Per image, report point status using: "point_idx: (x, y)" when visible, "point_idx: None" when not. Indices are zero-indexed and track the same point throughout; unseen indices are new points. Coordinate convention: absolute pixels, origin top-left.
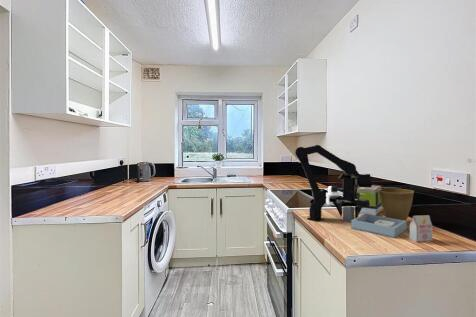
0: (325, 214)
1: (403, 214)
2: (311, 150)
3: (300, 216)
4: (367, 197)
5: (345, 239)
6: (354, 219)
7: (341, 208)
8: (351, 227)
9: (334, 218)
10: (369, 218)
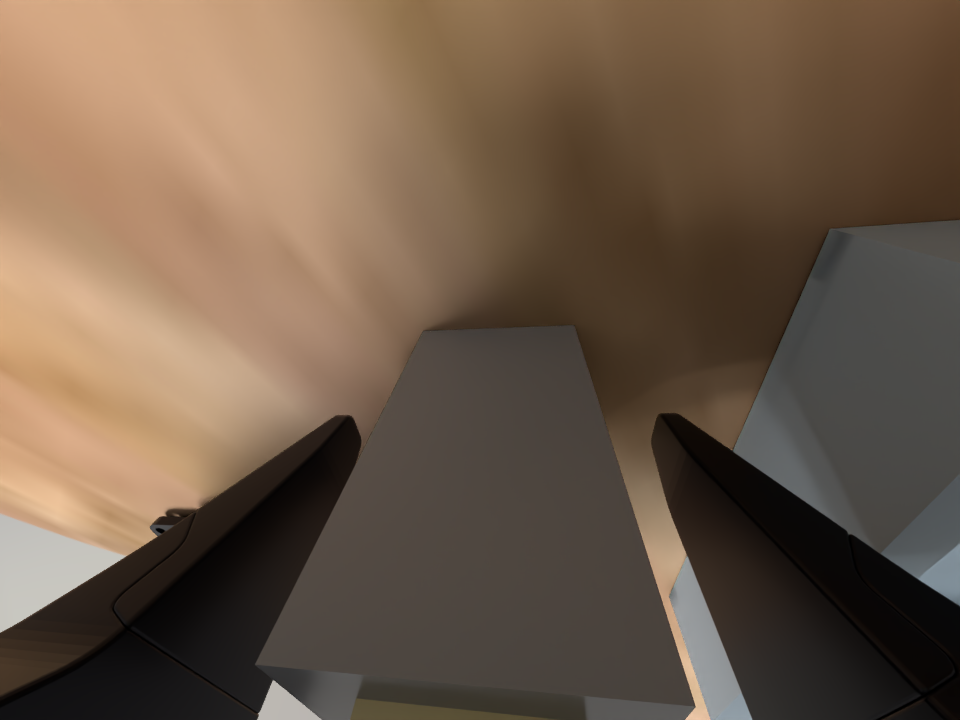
0: (11, 318)
1: None
2: None
3: (107, 549)
4: None
5: (696, 708)
6: (746, 708)
7: (237, 572)
8: (674, 608)
9: (295, 420)
10: None
